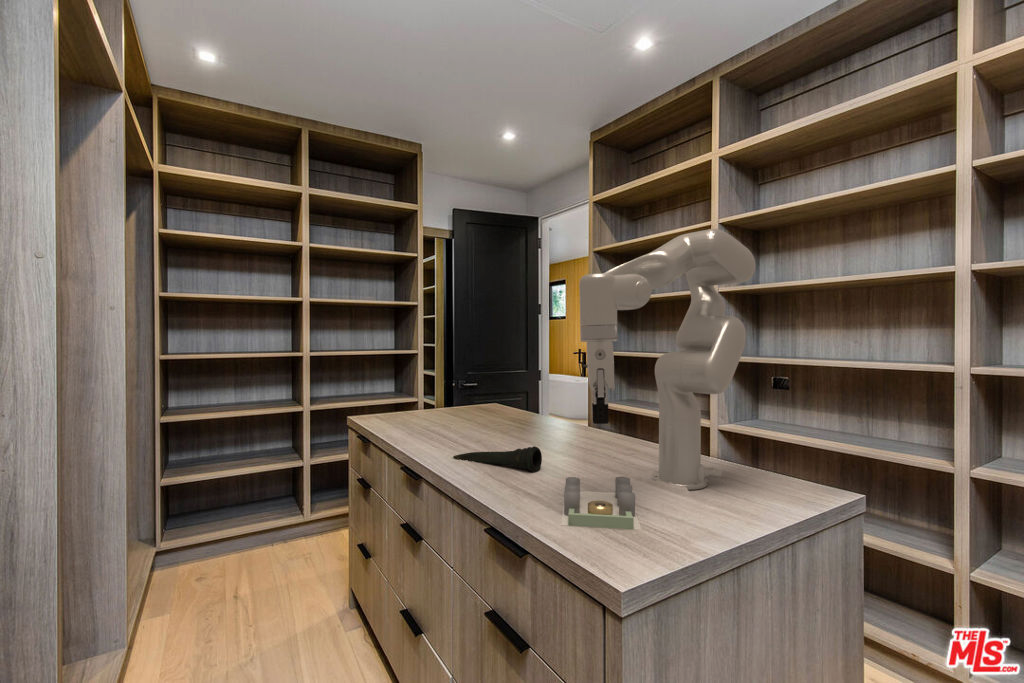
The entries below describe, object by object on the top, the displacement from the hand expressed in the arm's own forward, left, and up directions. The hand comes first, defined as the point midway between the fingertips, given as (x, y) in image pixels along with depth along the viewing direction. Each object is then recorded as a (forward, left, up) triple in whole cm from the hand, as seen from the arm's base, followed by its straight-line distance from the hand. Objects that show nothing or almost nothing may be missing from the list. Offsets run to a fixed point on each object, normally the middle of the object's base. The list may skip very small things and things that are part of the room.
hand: (600, 422), depth 99 cm
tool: (+28, -29, -18) cm, 44 cm away
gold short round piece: (0, +10, -16) cm, 19 cm away
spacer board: (0, +4, -17) cm, 18 cm away
